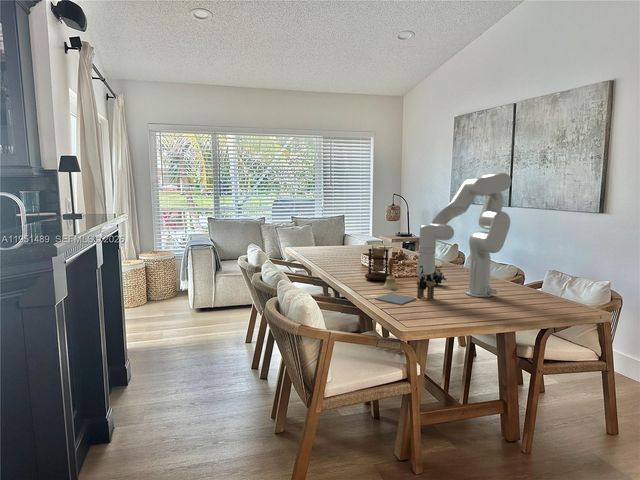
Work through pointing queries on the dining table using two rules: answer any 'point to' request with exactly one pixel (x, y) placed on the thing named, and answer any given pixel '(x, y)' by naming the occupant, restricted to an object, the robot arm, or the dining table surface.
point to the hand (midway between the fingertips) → (425, 288)
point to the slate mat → (396, 298)
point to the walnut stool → (429, 291)
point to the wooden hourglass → (377, 264)
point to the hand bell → (390, 278)
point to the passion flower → (438, 276)
